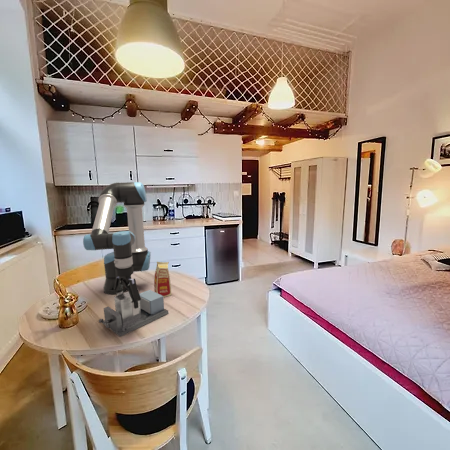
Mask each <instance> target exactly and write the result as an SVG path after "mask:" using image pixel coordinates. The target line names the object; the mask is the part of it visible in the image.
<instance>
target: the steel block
mask: <svg viewBox="0 0 450 450" xmlns="http://www.w3.org/2000/svg"><path fill="white" fill-rule="evenodd" d="M113 298H114V305H115V306H114V307H115V310H114V311H116V312H117V313H119V314H120V315H121V321H122V325H125V324H127V323H129V322H131V321H134V320H136V319H138V318H140V317H141V310H140V300H139V301H138V307H139V314H136V315H134V316H133V314H132V303H131V302H132V299H131V296H130V294H129V292H128V291H125V292H123V294H120V295H117V294H116V295H115V296H114V297H113Z"/></svg>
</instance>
